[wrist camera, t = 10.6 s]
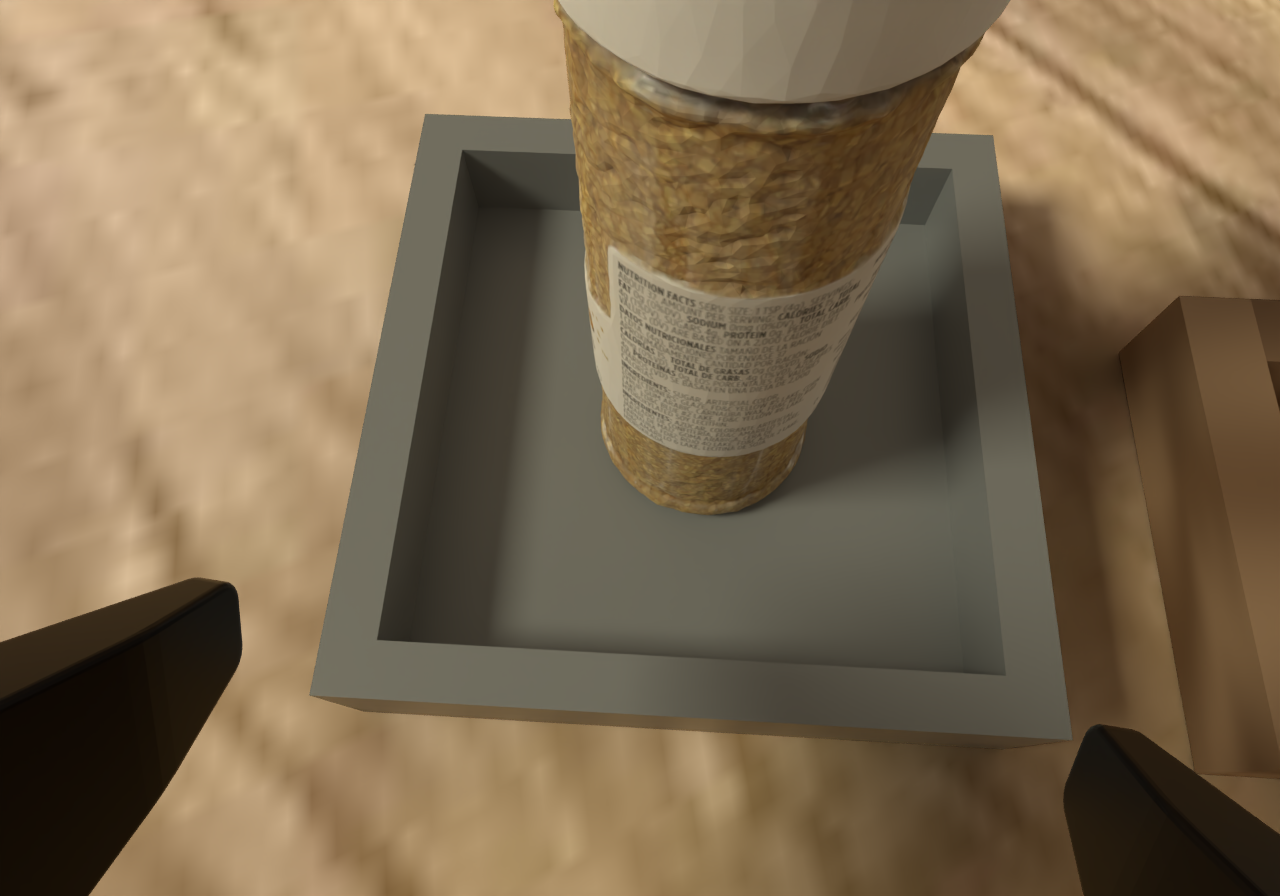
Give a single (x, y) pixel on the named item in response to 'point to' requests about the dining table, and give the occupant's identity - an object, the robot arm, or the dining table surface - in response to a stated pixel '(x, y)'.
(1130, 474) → the dining table surface
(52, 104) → the dining table surface
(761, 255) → the sprinkles bottle
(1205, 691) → the holder collar
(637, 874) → the dining table surface
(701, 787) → the dining table surface
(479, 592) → the tray
